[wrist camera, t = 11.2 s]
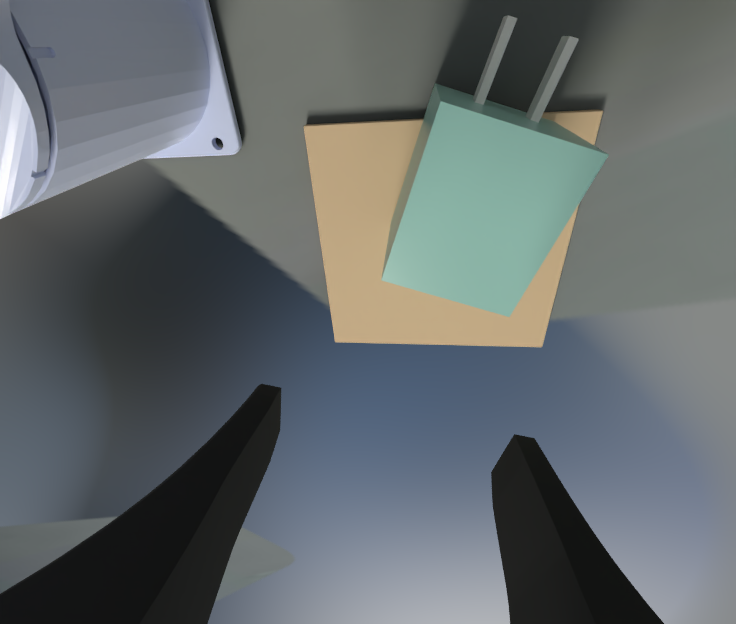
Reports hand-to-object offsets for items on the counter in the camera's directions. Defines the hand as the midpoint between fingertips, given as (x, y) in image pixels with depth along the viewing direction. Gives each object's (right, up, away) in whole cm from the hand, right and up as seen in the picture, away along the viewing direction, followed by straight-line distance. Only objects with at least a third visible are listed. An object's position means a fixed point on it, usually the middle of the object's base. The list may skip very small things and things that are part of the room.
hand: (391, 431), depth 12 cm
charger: (+4, +11, +4) cm, 12 cm away
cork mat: (+3, +7, +7) cm, 11 cm away
